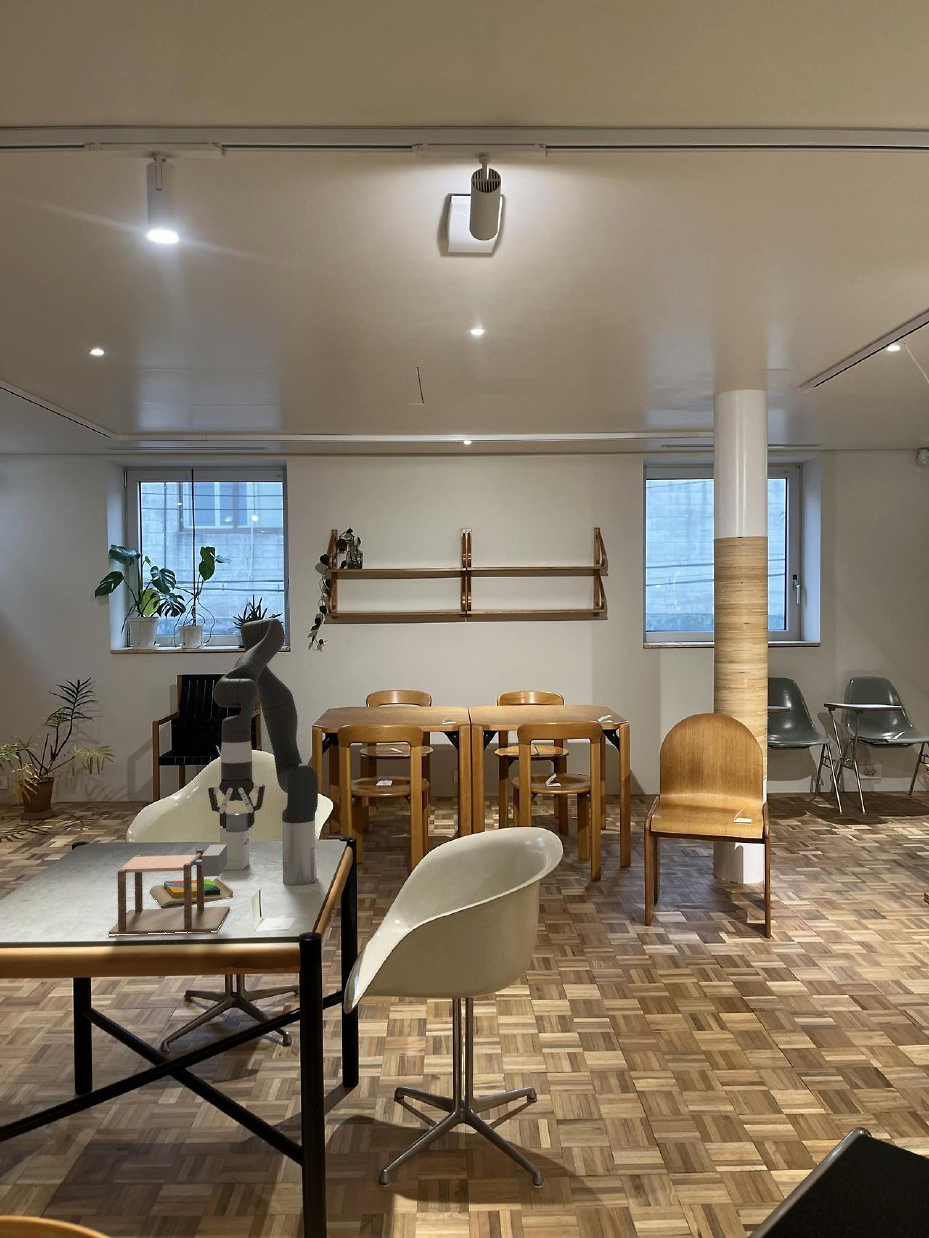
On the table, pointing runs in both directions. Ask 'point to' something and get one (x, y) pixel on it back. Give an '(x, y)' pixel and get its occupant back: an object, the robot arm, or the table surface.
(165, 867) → the trapdoor
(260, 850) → the table surface
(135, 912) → the trapdoor stand
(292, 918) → the table surface
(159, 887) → the wooden puzzle
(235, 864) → the supplement box
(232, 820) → the stubby grey cylinder
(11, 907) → the table surface
